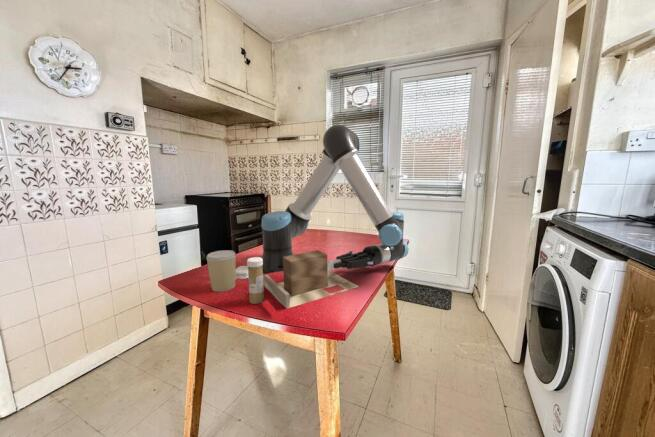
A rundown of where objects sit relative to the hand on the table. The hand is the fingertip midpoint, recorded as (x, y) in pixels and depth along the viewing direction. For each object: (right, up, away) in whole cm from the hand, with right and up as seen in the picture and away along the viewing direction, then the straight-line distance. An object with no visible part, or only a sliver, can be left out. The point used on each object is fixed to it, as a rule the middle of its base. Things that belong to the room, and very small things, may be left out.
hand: (324, 266), depth 87 cm
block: (-6, -6, -2) cm, 9 cm away
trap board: (-4, -8, -1) cm, 9 cm away
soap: (-32, -6, +15) cm, 36 cm away
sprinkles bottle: (-21, -9, -8) cm, 24 cm away
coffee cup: (-35, -8, +3) cm, 36 cm away
